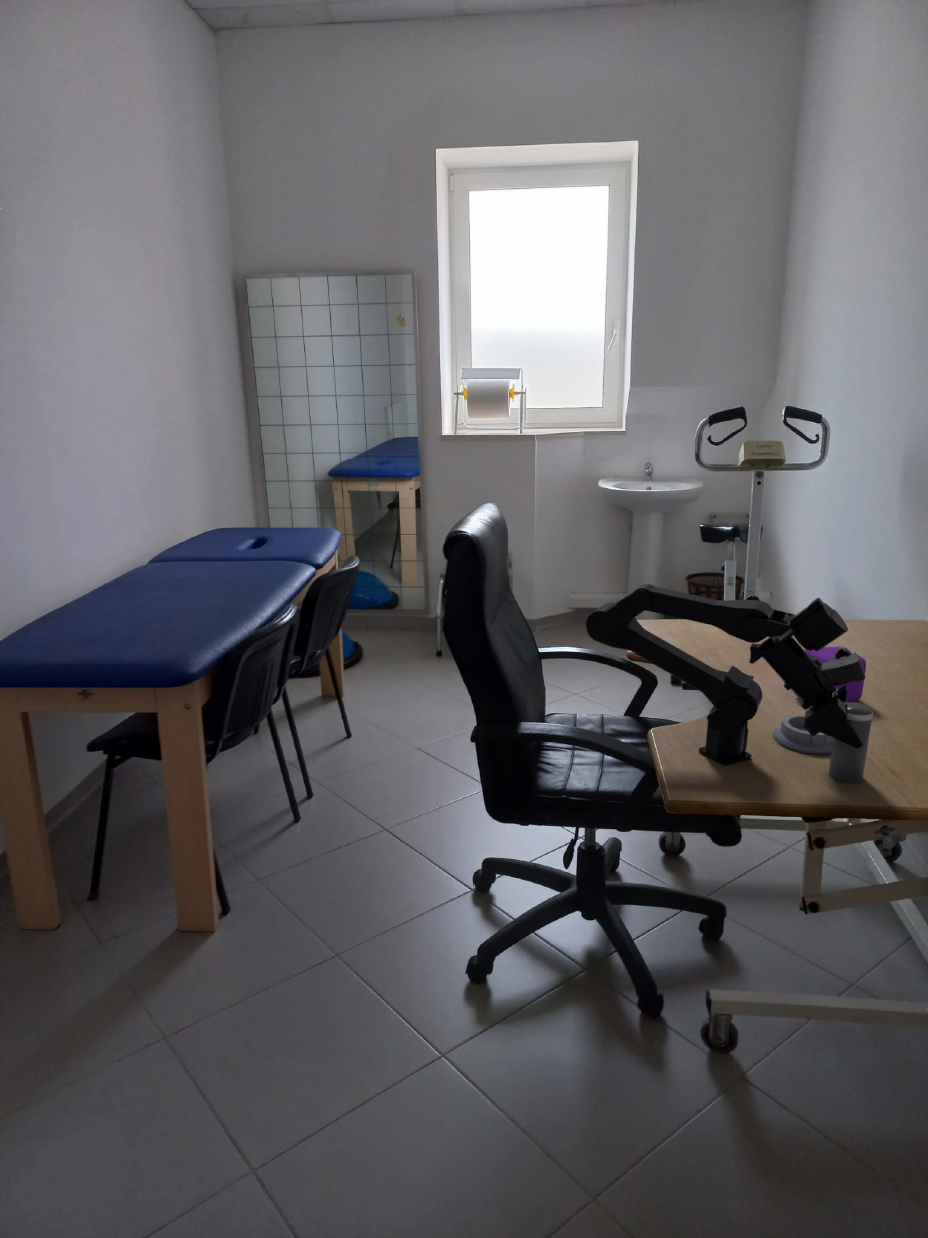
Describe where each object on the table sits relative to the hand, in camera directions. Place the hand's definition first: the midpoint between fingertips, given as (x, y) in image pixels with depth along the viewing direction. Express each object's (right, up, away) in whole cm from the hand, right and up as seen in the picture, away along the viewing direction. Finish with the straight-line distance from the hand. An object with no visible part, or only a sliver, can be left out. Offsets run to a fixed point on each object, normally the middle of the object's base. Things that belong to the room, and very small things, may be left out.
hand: (860, 740), depth 137 cm
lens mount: (-2, -2, +16) cm, 16 cm away
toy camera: (+9, +4, +37) cm, 38 cm away
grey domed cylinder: (-1, -6, +2) cm, 7 cm away
